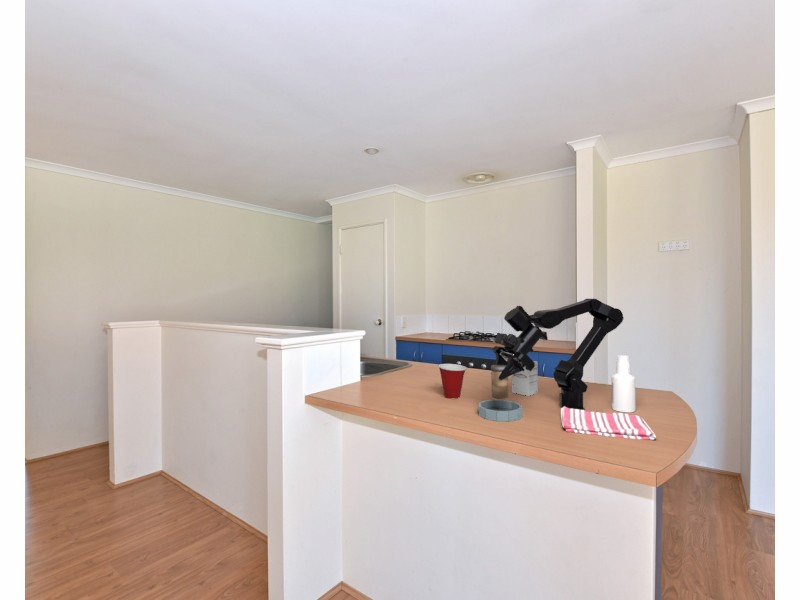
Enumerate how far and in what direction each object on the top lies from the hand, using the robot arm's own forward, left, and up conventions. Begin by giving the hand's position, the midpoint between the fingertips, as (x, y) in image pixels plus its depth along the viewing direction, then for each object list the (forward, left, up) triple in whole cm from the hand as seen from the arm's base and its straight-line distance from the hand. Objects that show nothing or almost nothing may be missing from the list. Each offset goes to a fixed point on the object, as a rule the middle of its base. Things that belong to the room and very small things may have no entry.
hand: (495, 376), depth 127 cm
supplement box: (-14, -28, -13) cm, 34 cm away
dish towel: (-30, +9, -13) cm, 34 cm away
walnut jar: (-1, 0, -7) cm, 7 cm away
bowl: (-1, 0, -12) cm, 13 cm away
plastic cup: (+14, -21, -13) cm, 28 cm away
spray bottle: (-42, -8, -13) cm, 45 cm away
